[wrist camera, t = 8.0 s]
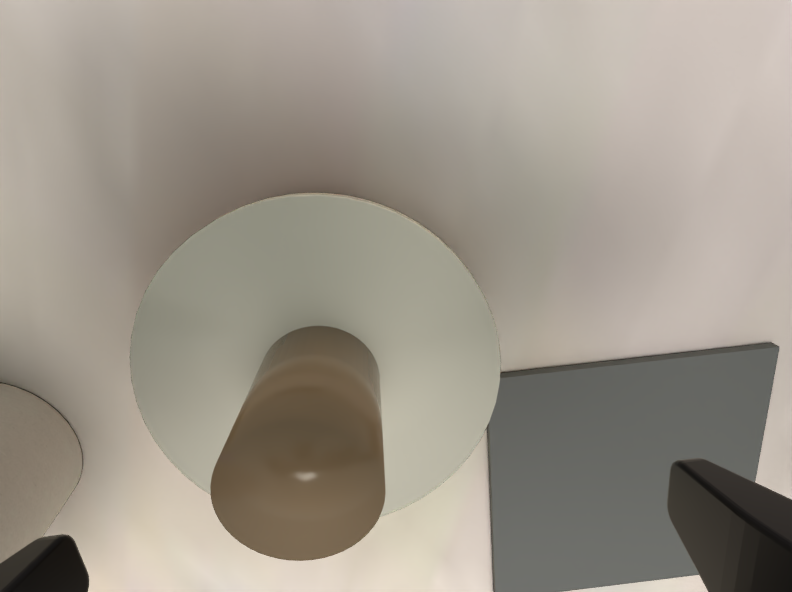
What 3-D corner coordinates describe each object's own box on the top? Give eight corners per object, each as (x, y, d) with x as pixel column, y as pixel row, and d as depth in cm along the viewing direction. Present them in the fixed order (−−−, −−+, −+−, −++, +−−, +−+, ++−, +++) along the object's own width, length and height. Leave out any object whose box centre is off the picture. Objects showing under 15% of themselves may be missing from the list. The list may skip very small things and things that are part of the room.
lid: (489, 173, 14) (565, 201, 8) (498, 489, 17) (556, 647, 12) (96, 213, 13) (-80, 268, 8) (188, 525, 17) (108, 703, 12)
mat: (771, 342, 20) (779, 346, 20) (733, 562, 24) (739, 569, 24) (485, 374, 20) (487, 379, 20) (493, 592, 24) (495, 599, 23)
